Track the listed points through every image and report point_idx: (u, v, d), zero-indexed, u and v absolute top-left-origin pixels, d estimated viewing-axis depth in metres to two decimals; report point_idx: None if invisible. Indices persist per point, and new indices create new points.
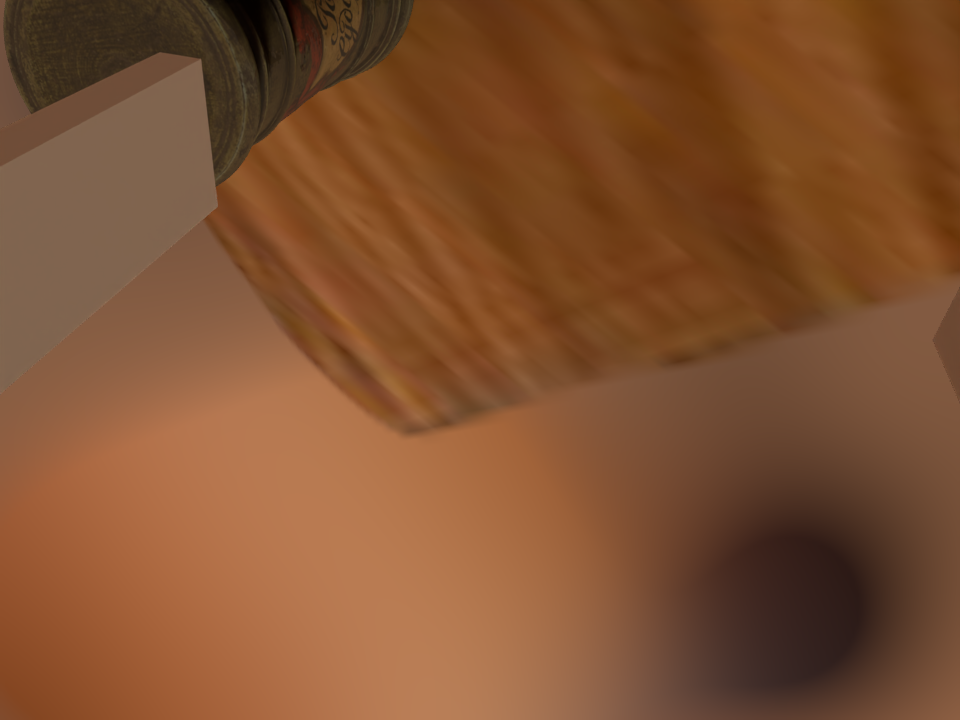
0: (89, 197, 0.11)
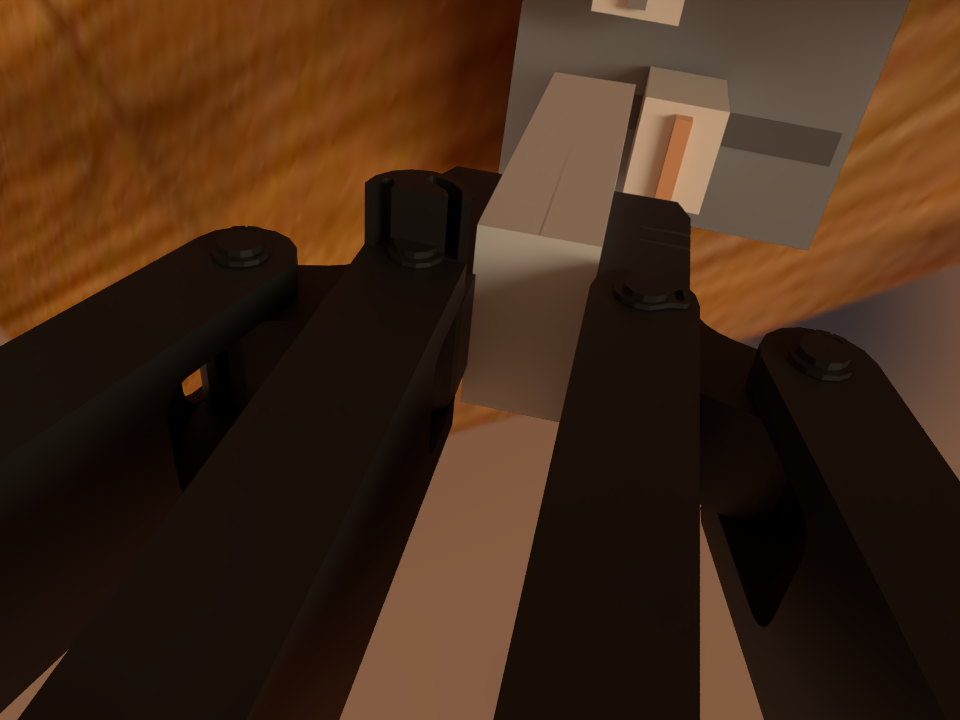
0: None
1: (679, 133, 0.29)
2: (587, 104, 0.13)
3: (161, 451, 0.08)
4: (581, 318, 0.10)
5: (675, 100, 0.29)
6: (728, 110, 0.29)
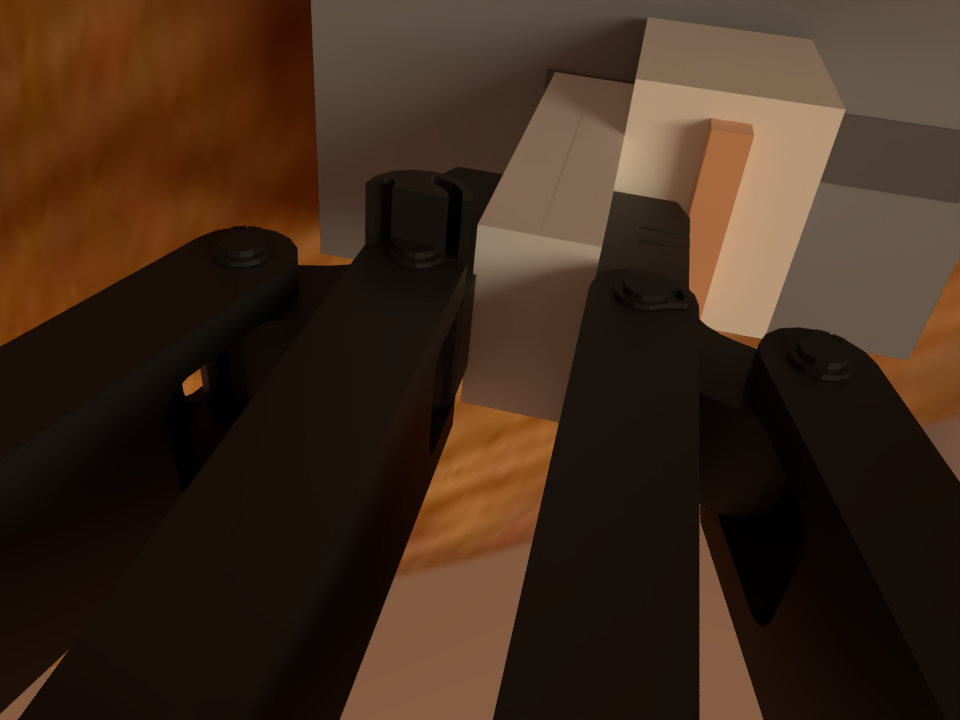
0: None
1: (720, 164, 0.12)
2: (587, 104, 0.13)
3: (161, 452, 0.08)
4: (581, 318, 0.10)
5: (706, 85, 0.12)
6: (839, 105, 0.12)
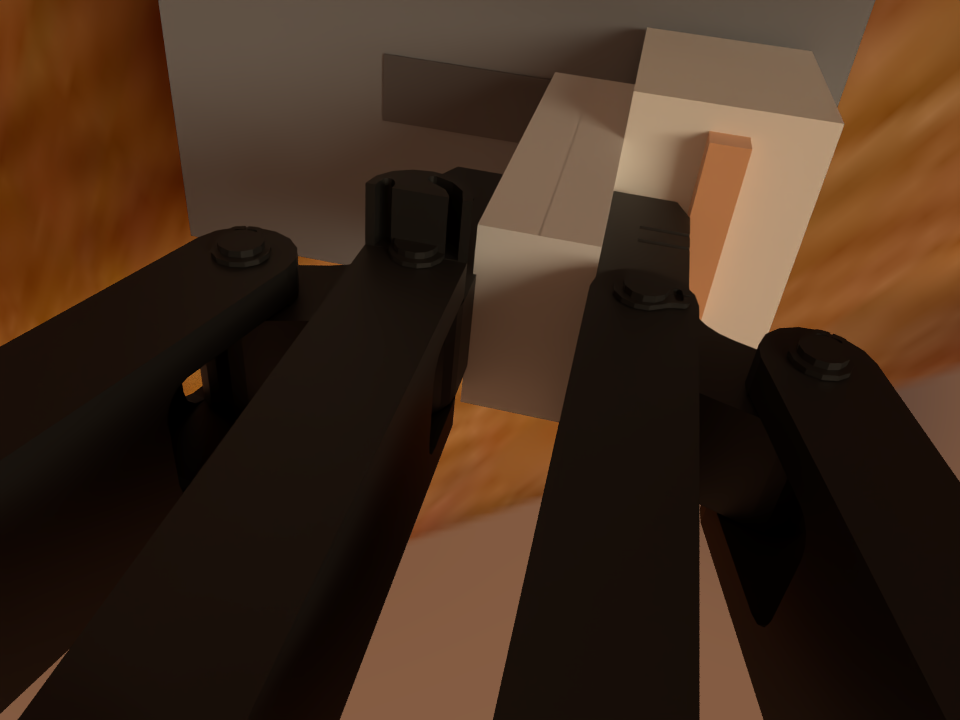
0: None
1: (719, 177, 0.12)
2: (586, 104, 0.13)
3: (161, 452, 0.08)
4: (581, 318, 0.10)
5: (705, 98, 0.12)
6: (838, 119, 0.12)
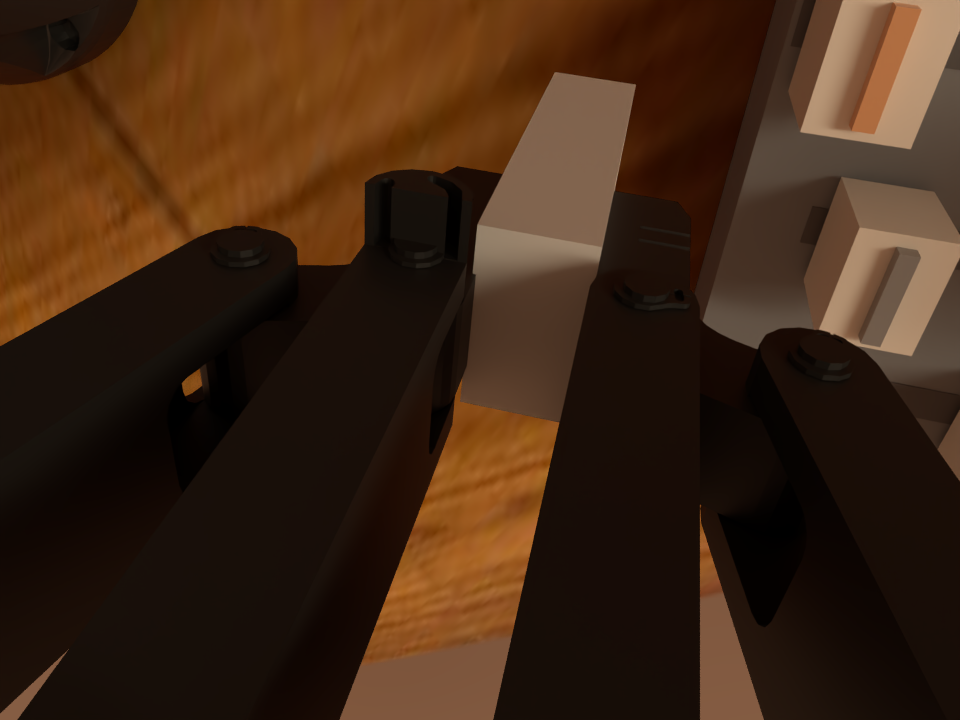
0: None
1: None
2: (587, 104, 0.13)
3: (161, 451, 0.08)
4: (581, 318, 0.10)
5: None
6: None
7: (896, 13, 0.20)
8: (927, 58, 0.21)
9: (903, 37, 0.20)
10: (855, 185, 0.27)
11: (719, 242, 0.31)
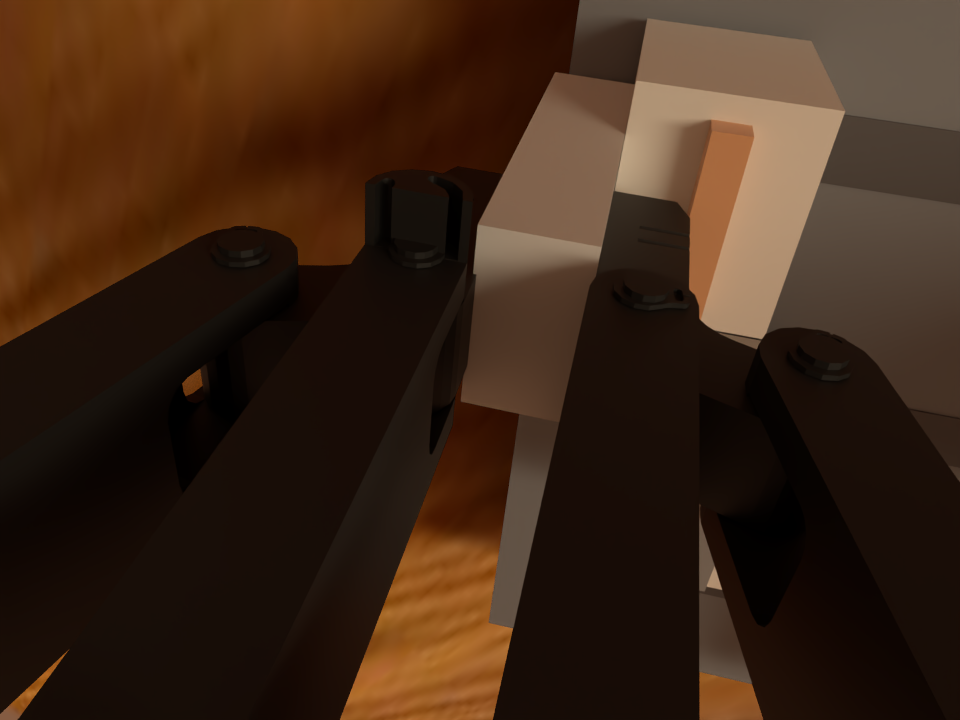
0: None
1: None
2: (586, 104, 0.13)
3: (161, 452, 0.08)
4: (581, 318, 0.10)
5: None
6: None
7: (713, 142, 0.12)
8: (776, 208, 0.13)
9: (729, 180, 0.12)
10: None
11: None
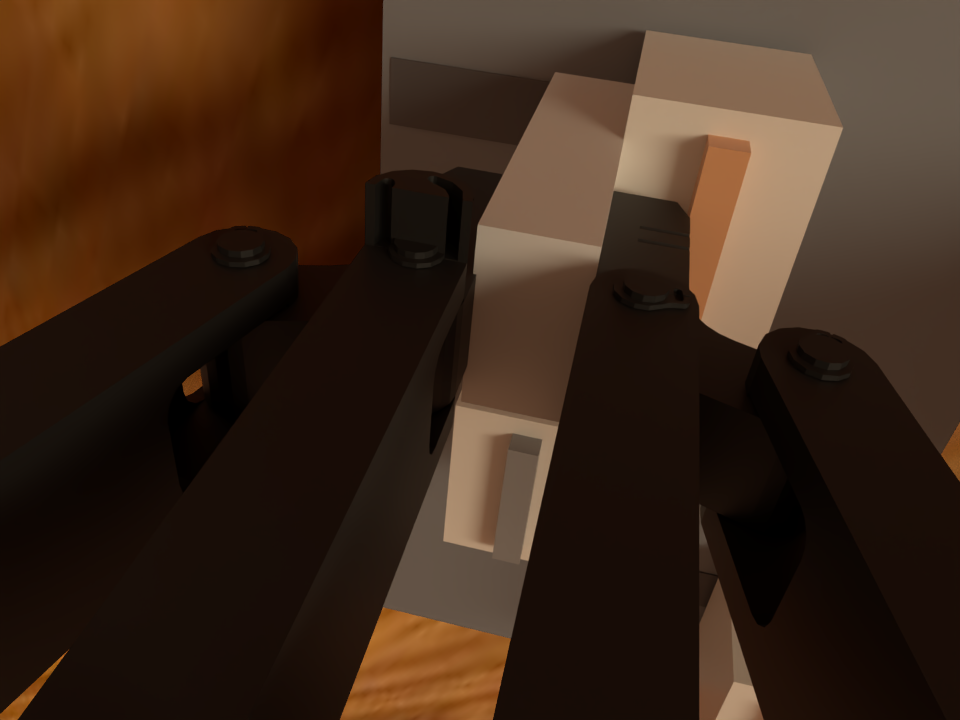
0: None
1: None
2: (586, 104, 0.13)
3: (161, 451, 0.08)
4: (581, 318, 0.10)
5: None
6: None
7: (709, 157, 0.12)
8: (774, 224, 0.12)
9: (725, 195, 0.12)
10: None
11: None
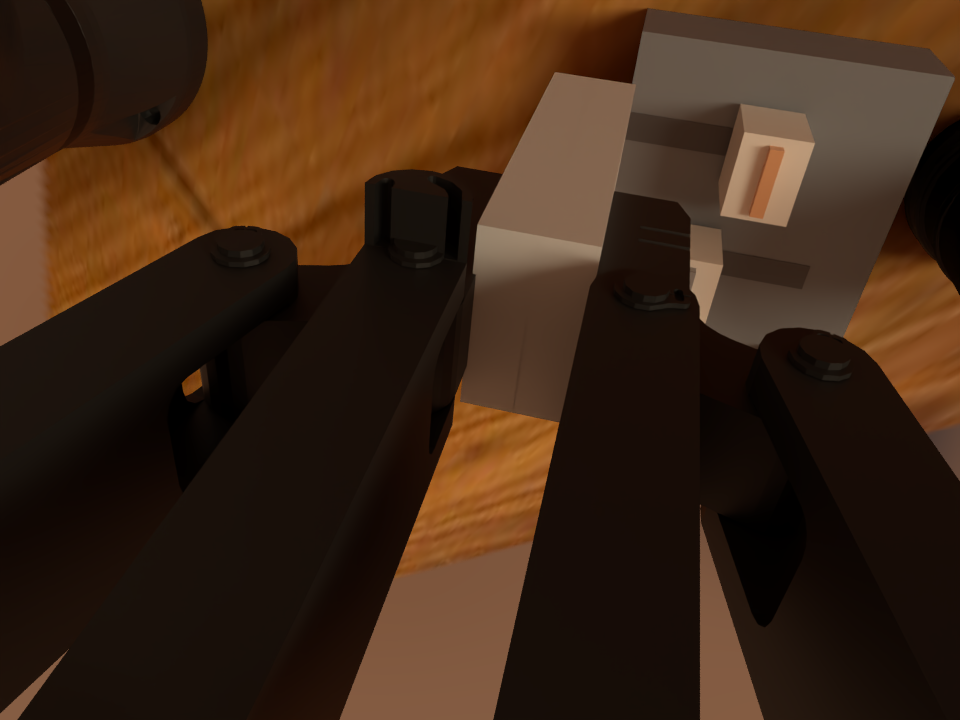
0: None
1: None
2: (587, 104, 0.13)
3: (160, 451, 0.08)
4: (581, 318, 0.10)
5: None
6: None
7: (770, 153, 0.35)
8: (791, 176, 0.36)
9: (775, 166, 0.35)
10: None
11: None
